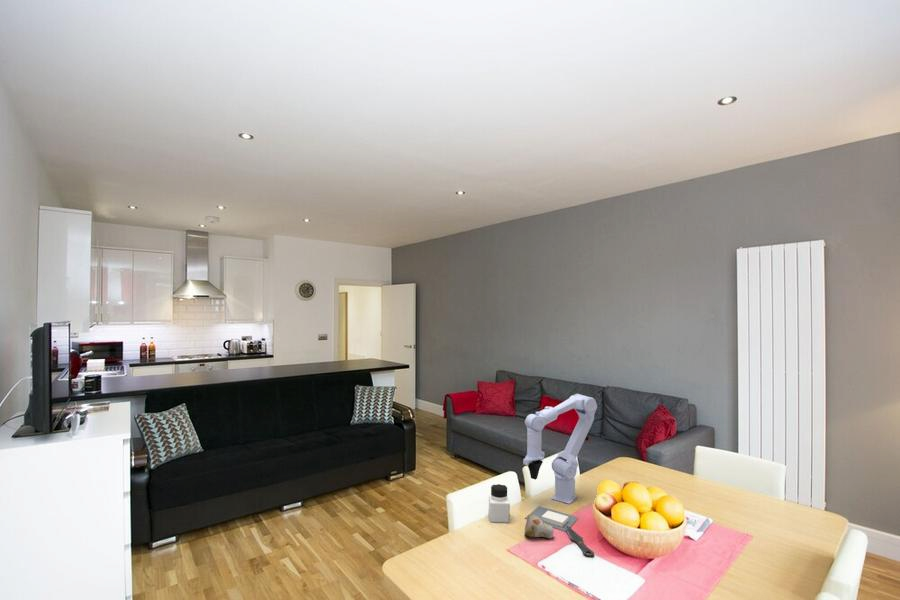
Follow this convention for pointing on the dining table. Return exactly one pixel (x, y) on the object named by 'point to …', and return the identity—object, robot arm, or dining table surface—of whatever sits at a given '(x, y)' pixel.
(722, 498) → the dining table surface
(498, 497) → the medicine bottle
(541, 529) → the mug
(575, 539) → the throwing knife
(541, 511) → the mat
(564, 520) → the tile
